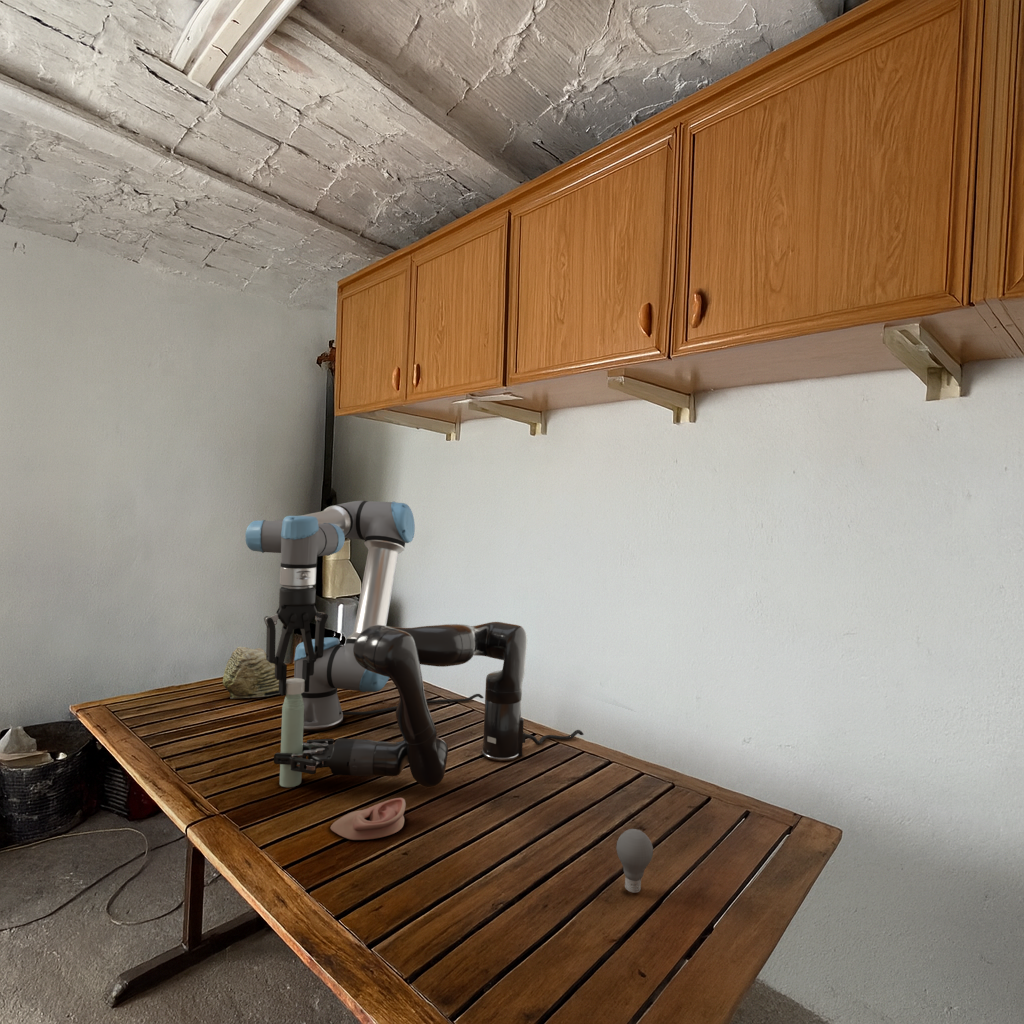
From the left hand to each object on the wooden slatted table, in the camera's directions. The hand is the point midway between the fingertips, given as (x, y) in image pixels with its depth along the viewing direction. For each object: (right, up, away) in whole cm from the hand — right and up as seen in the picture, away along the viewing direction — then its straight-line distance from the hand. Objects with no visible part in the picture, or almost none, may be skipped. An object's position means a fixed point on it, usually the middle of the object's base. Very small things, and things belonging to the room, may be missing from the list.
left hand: (293, 691), depth 139 cm
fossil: (-33, -18, +59) cm, 70 cm away
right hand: (-3, -14, 0) cm, 14 cm away
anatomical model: (+20, -21, -17) cm, 34 cm away
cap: (0, +2, 0) cm, 2 cm away
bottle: (-1, -20, 0) cm, 20 cm away
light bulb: (+68, -24, -34) cm, 80 cm away
